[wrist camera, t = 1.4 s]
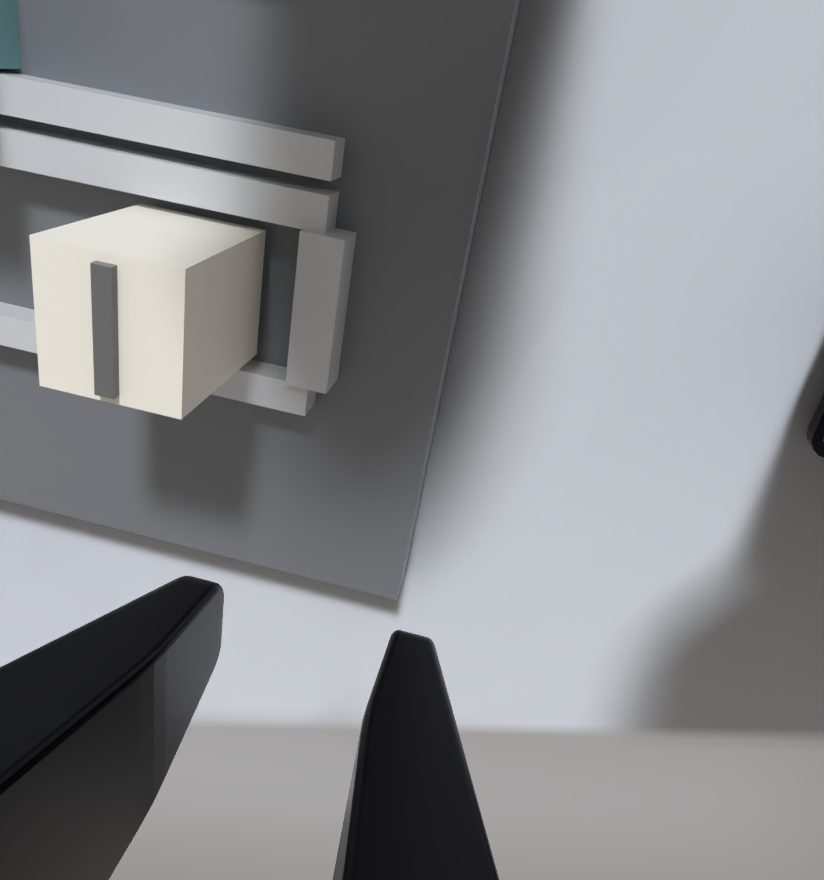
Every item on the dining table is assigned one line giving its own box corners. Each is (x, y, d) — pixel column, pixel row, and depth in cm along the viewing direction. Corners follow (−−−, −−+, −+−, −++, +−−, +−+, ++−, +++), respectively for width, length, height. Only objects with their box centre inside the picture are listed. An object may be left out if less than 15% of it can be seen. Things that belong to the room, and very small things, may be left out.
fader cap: (266, 230, 17) (179, 271, 13) (256, 354, 18) (176, 423, 14) (141, 203, 17) (22, 236, 13) (141, 327, 18) (32, 389, 15)
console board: (533, -67, 15) (519, -137, 10) (405, 575, 22) (362, 706, 17) (-353, -217, 17) (-708, -333, 12) (-202, 422, 24) (-387, 504, 19)
